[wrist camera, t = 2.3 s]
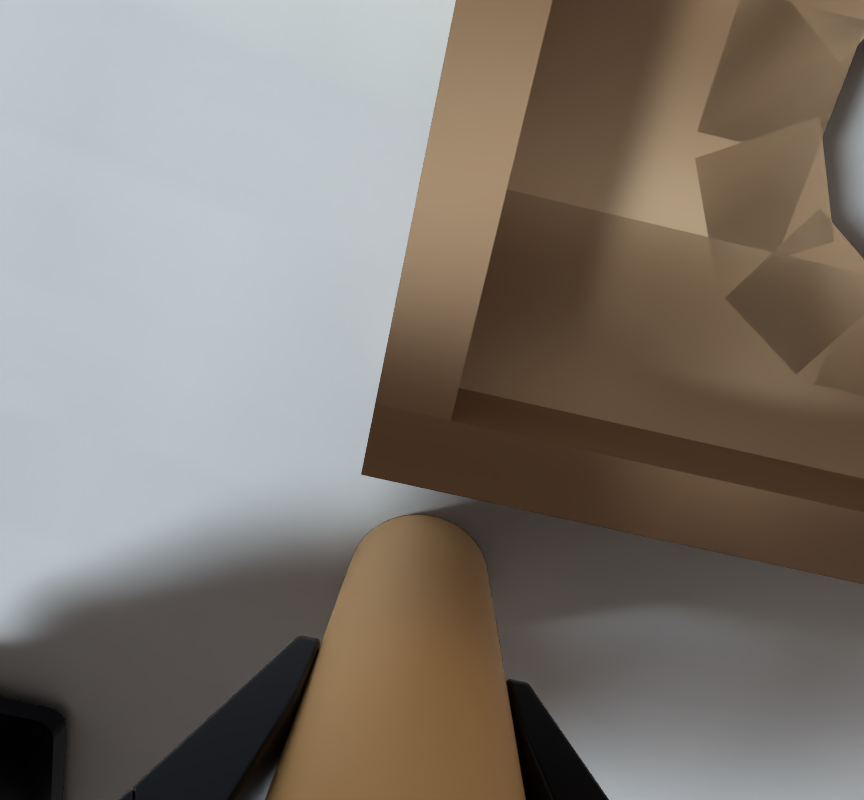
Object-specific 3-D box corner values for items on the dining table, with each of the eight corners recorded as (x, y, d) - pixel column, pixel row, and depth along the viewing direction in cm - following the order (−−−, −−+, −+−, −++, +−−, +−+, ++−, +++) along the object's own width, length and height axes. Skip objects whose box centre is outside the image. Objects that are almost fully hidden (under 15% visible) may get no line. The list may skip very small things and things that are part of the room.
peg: (469, 649, 12) (550, 1722, 3) (338, 622, 12) (5, 1636, 3) (503, 531, 11) (758, 1493, 2) (363, 501, 11) (9, 1370, 2)
